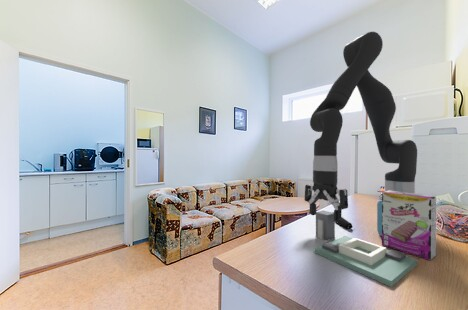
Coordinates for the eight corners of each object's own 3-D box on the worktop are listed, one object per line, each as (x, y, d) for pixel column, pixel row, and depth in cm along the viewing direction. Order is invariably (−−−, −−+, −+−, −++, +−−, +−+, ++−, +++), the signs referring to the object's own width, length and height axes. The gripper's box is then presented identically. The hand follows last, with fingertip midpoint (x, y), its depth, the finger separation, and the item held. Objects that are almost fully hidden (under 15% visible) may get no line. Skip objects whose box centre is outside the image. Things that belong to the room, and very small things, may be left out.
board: (344, 239, 66) (344, 229, 66) (417, 264, 51) (417, 251, 51) (314, 252, 57) (314, 241, 57) (391, 286, 42) (391, 271, 42)
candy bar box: (381, 246, 61) (380, 191, 61) (387, 242, 64) (387, 189, 64) (431, 262, 52) (431, 197, 52) (437, 256, 55) (436, 195, 55)
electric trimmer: (344, 231, 74) (344, 222, 74) (327, 217, 90) (327, 210, 90) (355, 231, 74) (355, 223, 74) (336, 218, 90) (336, 210, 90)
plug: (323, 233, 71) (323, 210, 71) (334, 237, 68) (334, 213, 68) (314, 236, 69) (314, 212, 69) (325, 240, 65) (325, 215, 65)
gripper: (352, 170, 65) (352, 221, 64) (313, 168, 76) (312, 211, 76) (339, 171, 60) (339, 226, 60) (300, 168, 72) (299, 214, 72)
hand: (324, 217), depth 68 cm, fingers open, 8 cm apart
